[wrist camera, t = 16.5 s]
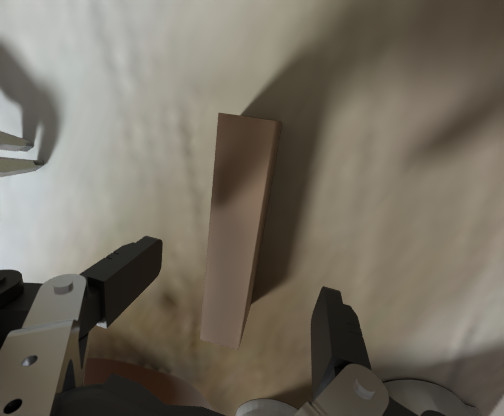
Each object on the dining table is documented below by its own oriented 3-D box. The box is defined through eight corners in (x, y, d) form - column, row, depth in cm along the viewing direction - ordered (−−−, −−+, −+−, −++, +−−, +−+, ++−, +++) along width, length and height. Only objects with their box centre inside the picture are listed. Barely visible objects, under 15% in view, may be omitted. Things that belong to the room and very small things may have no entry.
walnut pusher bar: (282, 122, 17) (275, 121, 12) (251, 303, 22) (238, 349, 18) (240, 115, 17) (218, 112, 12) (220, 295, 23) (199, 339, 18)
